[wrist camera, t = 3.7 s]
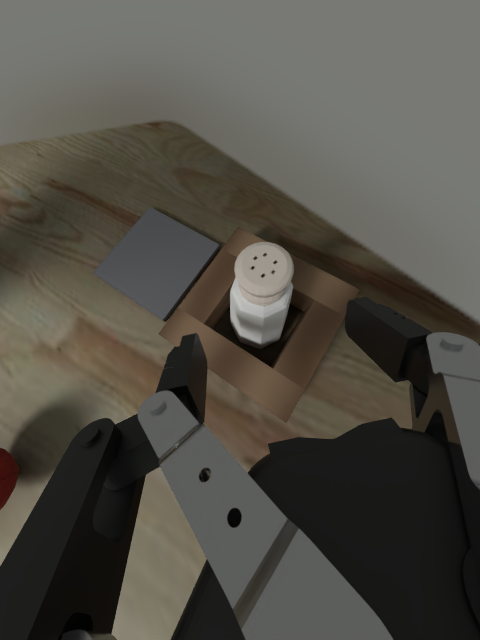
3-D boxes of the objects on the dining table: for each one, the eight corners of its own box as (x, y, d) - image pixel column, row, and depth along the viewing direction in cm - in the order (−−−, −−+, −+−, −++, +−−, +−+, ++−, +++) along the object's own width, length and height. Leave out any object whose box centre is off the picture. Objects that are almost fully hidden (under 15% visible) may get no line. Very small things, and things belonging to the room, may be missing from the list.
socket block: (174, 340, 20) (158, 333, 17) (240, 249, 22) (238, 226, 19) (279, 413, 18) (286, 422, 14) (341, 303, 20) (360, 289, 16)
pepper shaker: (219, 324, 20) (182, 271, 9) (255, 286, 21) (258, 197, 10) (260, 361, 19) (271, 348, 8) (297, 319, 20) (349, 258, 9)
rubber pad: (96, 275, 22) (92, 272, 22) (152, 210, 24) (150, 206, 24) (165, 321, 20) (162, 320, 20) (220, 247, 22) (219, 244, 22)
